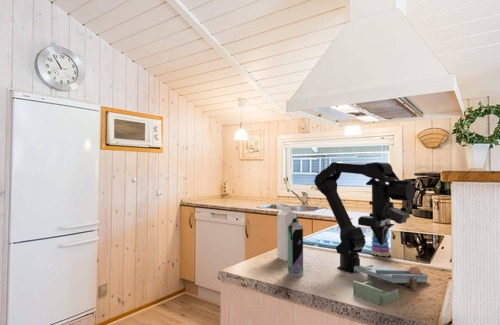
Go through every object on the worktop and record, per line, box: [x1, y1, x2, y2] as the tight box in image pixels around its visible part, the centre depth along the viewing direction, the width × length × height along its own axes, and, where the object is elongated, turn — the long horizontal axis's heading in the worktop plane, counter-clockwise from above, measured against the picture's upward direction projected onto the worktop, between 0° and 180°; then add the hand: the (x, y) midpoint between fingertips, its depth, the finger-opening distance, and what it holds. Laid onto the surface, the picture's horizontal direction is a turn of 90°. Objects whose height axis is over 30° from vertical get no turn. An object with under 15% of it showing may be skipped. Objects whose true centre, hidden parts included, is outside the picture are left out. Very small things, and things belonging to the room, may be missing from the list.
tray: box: [352, 280, 400, 307], centre depth 88 cm, size 9×8×4 cm
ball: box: [408, 264, 422, 275], centre depth 101 cm, size 4×4×4 cm
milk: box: [276, 205, 298, 262], centre depth 127 cm, size 6×6×22 cm
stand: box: [366, 264, 418, 292], centre depth 100 cm, size 16×2×3 cm, turn 34°
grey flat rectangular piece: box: [354, 265, 428, 284], centre depth 100 cm, size 14×20×2 cm
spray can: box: [287, 217, 304, 277], centre depth 109 cm, size 6×6×20 cm
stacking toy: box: [370, 232, 391, 257], centre depth 133 cm, size 8×8×19 cm
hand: (381, 244), depth 102 cm, fingers closed
